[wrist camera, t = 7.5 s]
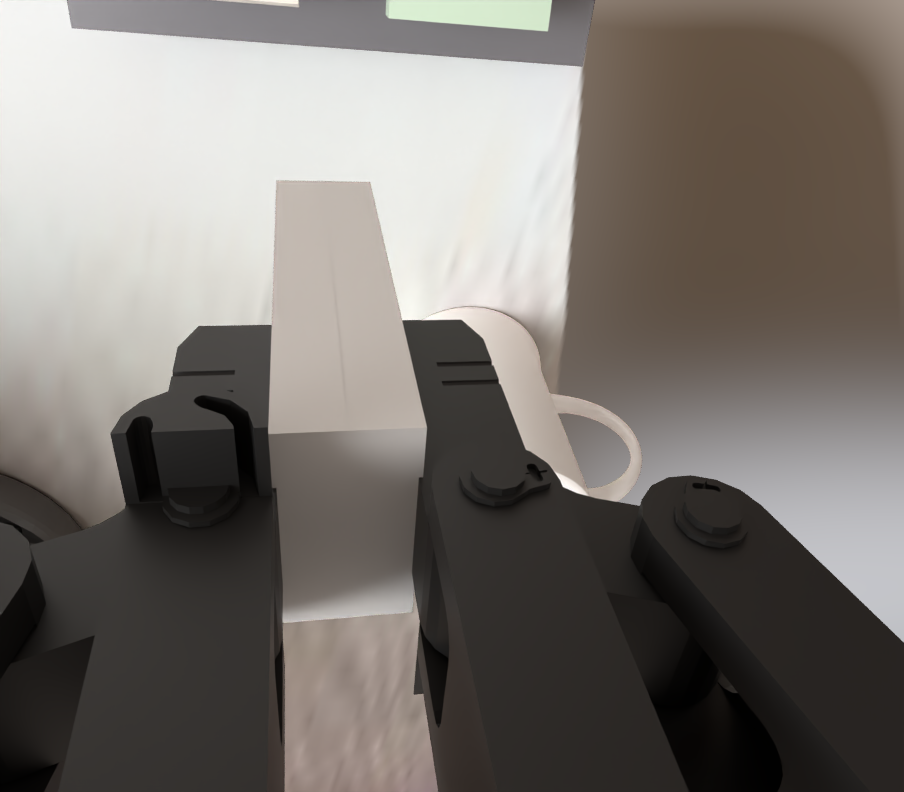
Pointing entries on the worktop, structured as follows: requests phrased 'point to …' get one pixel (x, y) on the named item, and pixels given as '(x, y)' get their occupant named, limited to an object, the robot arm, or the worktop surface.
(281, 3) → the rocker cream
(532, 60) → the switch panel
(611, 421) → the mug
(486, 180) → the worktop surface
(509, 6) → the rocker green
